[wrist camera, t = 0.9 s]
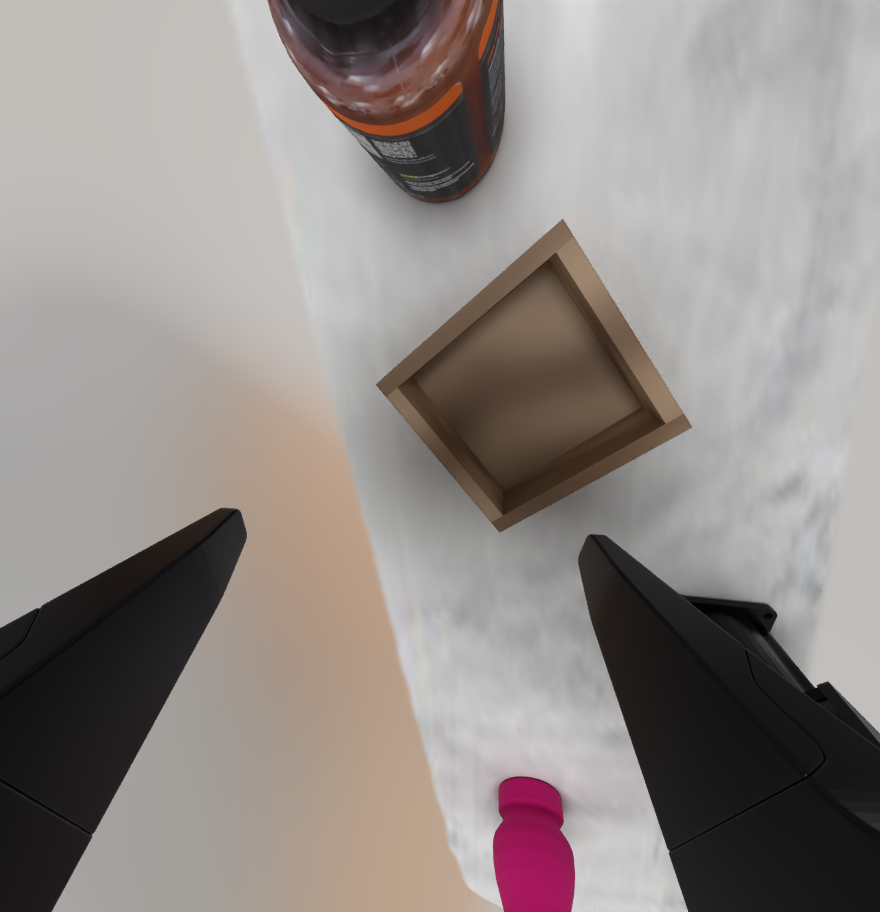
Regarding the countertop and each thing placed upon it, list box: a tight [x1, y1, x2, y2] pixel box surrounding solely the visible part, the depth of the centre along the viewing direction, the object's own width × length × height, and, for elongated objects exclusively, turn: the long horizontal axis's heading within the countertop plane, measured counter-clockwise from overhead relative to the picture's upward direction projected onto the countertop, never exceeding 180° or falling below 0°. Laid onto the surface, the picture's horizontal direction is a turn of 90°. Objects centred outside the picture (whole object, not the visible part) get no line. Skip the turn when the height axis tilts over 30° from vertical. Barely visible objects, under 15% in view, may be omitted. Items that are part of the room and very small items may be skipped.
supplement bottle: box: [268, 0, 505, 202], centre depth 11 cm, size 6×6×11 cm
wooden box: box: [376, 219, 692, 532], centre depth 18 cm, size 11×11×4 cm
